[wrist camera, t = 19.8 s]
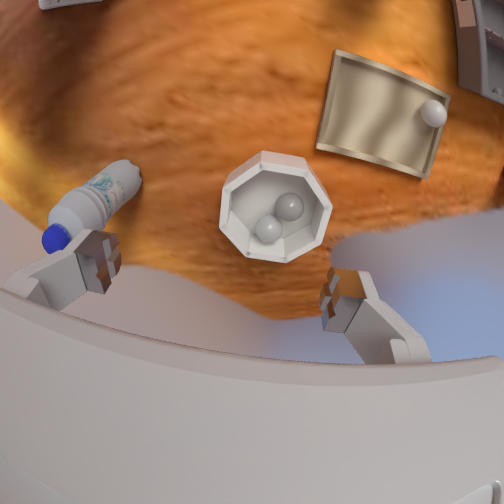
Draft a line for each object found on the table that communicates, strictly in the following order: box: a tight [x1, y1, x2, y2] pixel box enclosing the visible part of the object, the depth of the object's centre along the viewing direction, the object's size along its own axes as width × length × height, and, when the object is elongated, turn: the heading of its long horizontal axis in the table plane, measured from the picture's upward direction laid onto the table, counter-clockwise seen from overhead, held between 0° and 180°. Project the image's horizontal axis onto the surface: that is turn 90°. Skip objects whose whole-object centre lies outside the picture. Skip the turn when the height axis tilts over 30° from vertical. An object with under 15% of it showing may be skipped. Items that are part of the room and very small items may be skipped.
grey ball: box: [275, 192, 304, 222], centre depth 37 cm, size 4×4×4 cm
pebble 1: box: [255, 215, 283, 243], centre depth 39 cm, size 4×4×4 cm
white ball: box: [420, 100, 447, 128], centre depth 27 cm, size 4×4×4 cm
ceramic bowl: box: [219, 150, 333, 263], centre depth 37 cm, size 14×14×6 cm
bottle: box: [42, 160, 142, 255], centre depth 30 cm, size 7×7×20 cm
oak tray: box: [315, 49, 451, 180], centre depth 30 cm, size 18×14×2 cm
